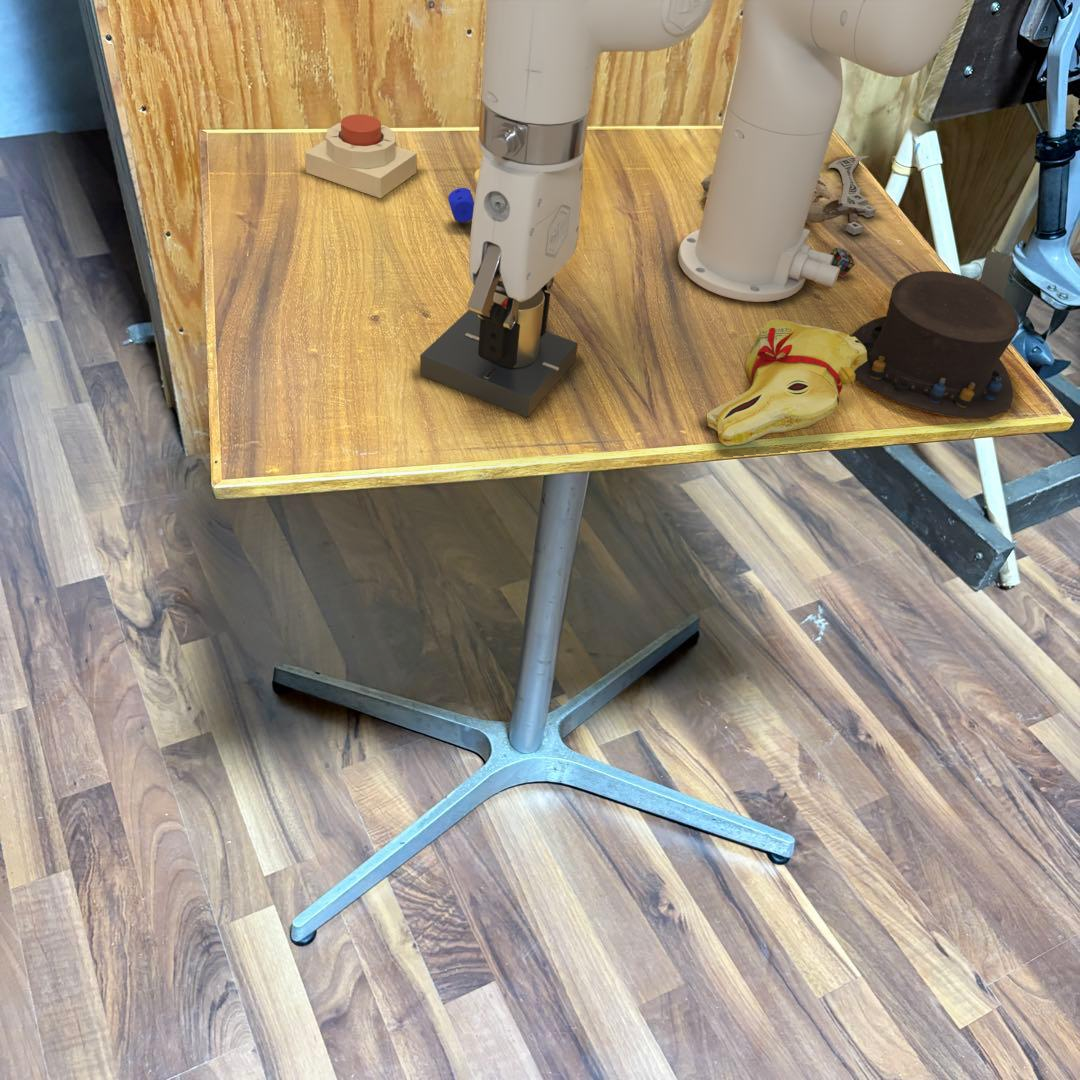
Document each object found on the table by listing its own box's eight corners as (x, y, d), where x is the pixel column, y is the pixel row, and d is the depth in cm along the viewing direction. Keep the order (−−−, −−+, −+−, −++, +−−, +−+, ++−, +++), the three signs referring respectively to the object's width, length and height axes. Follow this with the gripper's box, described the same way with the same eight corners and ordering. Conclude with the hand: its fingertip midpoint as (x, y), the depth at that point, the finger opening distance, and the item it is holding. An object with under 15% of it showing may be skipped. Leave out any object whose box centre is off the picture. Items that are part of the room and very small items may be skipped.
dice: (448, 234, 104) (451, 171, 100) (445, 220, 106) (448, 158, 101) (529, 234, 106) (535, 173, 101) (525, 220, 107) (531, 160, 103)
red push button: (388, 138, 109) (388, 121, 108) (367, 152, 107) (366, 135, 106) (355, 127, 110) (355, 110, 109) (333, 140, 108) (332, 123, 107)
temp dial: (499, 330, 90) (504, 270, 86) (546, 347, 89) (554, 287, 85) (475, 356, 87) (479, 295, 83) (523, 374, 86) (530, 313, 82)
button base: (416, 172, 112) (417, 135, 110) (380, 198, 108) (380, 160, 105) (344, 148, 115) (343, 111, 112) (306, 172, 110) (303, 135, 107)
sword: (829, 231, 112) (877, 239, 112) (831, 224, 111) (879, 231, 111) (826, 153, 126) (869, 159, 126) (828, 146, 126) (871, 152, 125)
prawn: (826, 109, 119) (787, 161, 124) (747, 70, 114) (709, 126, 118) (914, 251, 105) (865, 303, 109) (828, 214, 99) (780, 271, 103)
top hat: (1016, 444, 89) (1073, 340, 82) (838, 402, 91) (877, 296, 83) (1007, 346, 100) (1056, 246, 92) (847, 311, 101) (882, 209, 94)
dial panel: (578, 363, 91) (581, 342, 90) (530, 418, 85) (533, 397, 84) (472, 323, 94) (474, 302, 92) (419, 374, 88) (420, 353, 86)
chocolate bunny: (885, 381, 89) (792, 484, 81) (770, 358, 96) (674, 452, 88) (882, 308, 85) (784, 410, 77) (762, 290, 91) (661, 382, 84)
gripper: (525, 190, 68) (504, 416, 81) (629, 102, 79) (596, 313, 92) (423, 156, 70) (418, 382, 83) (539, 75, 81) (519, 285, 94)
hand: (512, 343), depth 87 cm, fingers closed on temp dial, 4 cm apart
